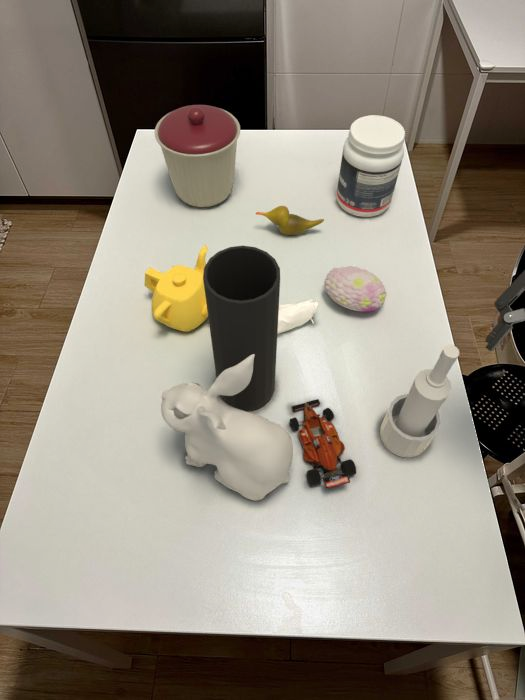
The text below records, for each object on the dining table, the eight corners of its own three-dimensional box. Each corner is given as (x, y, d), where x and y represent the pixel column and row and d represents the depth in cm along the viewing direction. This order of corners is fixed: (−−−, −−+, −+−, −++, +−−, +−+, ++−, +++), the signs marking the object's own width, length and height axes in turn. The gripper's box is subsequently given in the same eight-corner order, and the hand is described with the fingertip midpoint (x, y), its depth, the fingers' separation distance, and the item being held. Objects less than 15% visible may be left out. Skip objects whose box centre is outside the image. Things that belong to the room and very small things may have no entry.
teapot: (226, 329, 100) (224, 296, 92) (158, 344, 98) (149, 312, 90) (210, 277, 107) (206, 243, 99) (146, 291, 105) (137, 257, 97)
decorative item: (325, 259, 104) (357, 250, 95) (364, 283, 109) (398, 277, 100) (311, 300, 102) (342, 294, 93) (352, 322, 107) (385, 319, 98)
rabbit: (191, 409, 90) (171, 324, 69) (301, 453, 86) (315, 375, 65) (159, 467, 84) (126, 392, 63) (275, 517, 80) (281, 455, 59)
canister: (166, 170, 127) (151, 86, 109) (239, 166, 128) (236, 82, 110) (166, 221, 117) (149, 137, 99) (245, 215, 118) (242, 132, 100)
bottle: (386, 421, 88) (425, 337, 68) (415, 417, 89) (462, 332, 68) (396, 449, 85) (439, 371, 65) (425, 444, 86) (478, 364, 65)
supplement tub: (334, 182, 125) (344, 111, 109) (387, 184, 124) (405, 113, 109) (336, 219, 117) (347, 148, 102) (392, 221, 117) (412, 150, 102)
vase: (231, 355, 96) (221, 237, 72) (282, 371, 95) (290, 256, 70) (209, 401, 91) (190, 290, 66) (263, 419, 89) (264, 312, 64)
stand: (438, 436, 87) (450, 418, 82) (407, 467, 84) (418, 450, 79) (400, 404, 91) (410, 385, 85) (369, 433, 88) (377, 414, 82)
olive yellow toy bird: (256, 223, 117) (256, 200, 111) (322, 226, 116) (325, 204, 111) (254, 236, 114) (254, 213, 109) (322, 240, 114) (325, 217, 108)
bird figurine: (299, 309, 104) (256, 319, 100) (312, 290, 99) (267, 299, 94) (310, 329, 103) (267, 340, 98) (323, 311, 97) (279, 322, 93)
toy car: (325, 398, 91) (328, 386, 88) (359, 486, 83) (363, 476, 79) (283, 408, 90) (284, 396, 87) (313, 498, 81) (315, 489, 78)
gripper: (562, 213, 55) (463, 334, 60) (698, 289, 49) (574, 416, 54) (564, 229, 61) (474, 336, 66) (685, 297, 55) (575, 410, 60)
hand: (519, 372), depth 60 cm, fingers open, 8 cm apart
